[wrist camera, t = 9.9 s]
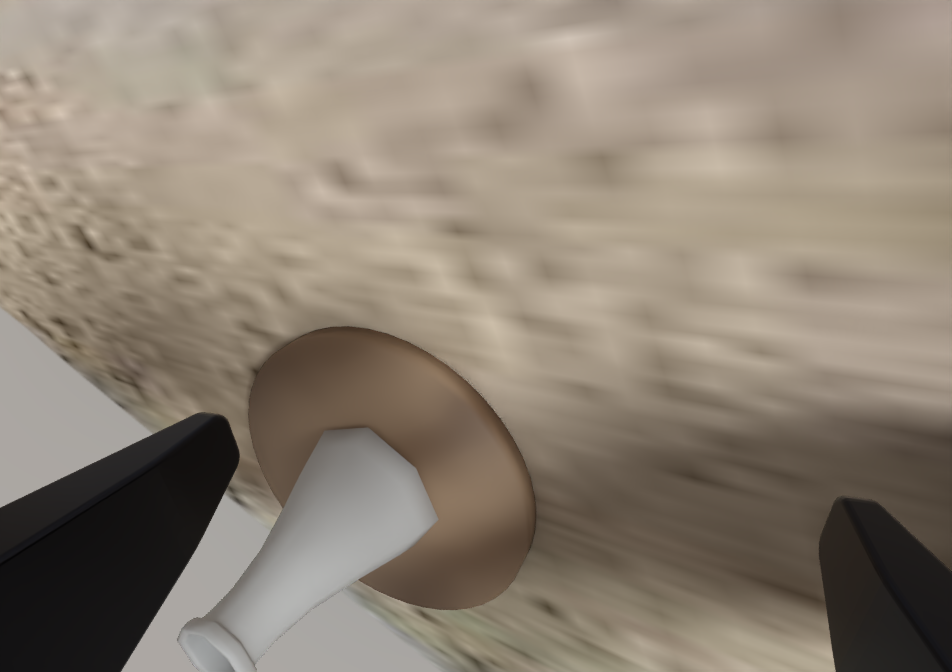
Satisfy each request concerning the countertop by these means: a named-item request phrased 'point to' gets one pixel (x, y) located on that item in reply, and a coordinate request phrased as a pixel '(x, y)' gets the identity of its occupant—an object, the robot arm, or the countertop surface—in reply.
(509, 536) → the walnut board
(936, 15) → the countertop surface
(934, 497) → the countertop surface
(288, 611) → the flask
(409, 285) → the countertop surface
